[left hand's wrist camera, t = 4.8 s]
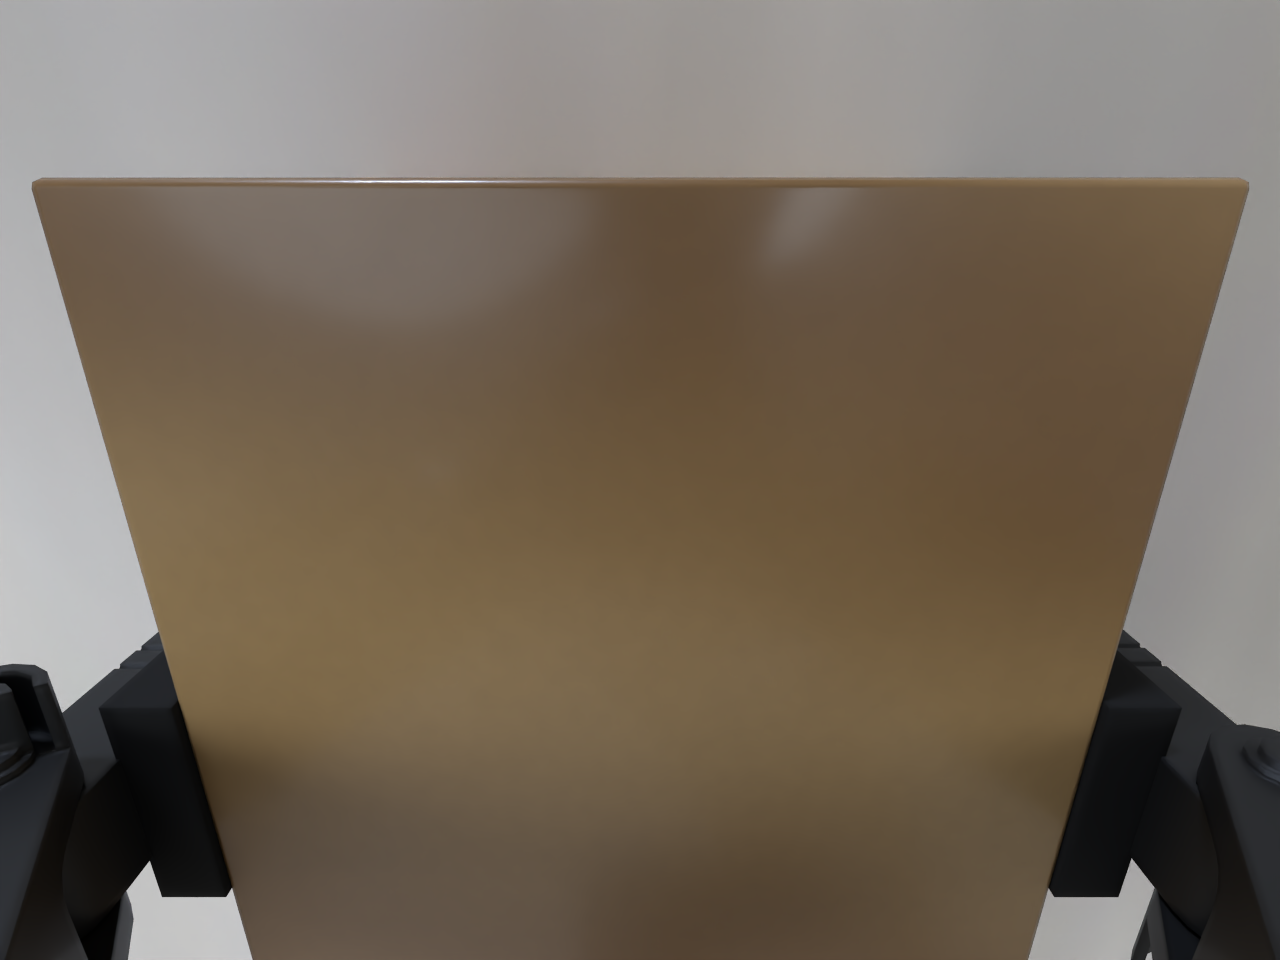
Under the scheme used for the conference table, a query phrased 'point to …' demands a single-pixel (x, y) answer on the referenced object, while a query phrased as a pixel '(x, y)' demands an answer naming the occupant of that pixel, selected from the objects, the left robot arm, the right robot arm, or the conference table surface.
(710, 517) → the thick board
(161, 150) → the conference table surface
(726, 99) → the conference table surface
